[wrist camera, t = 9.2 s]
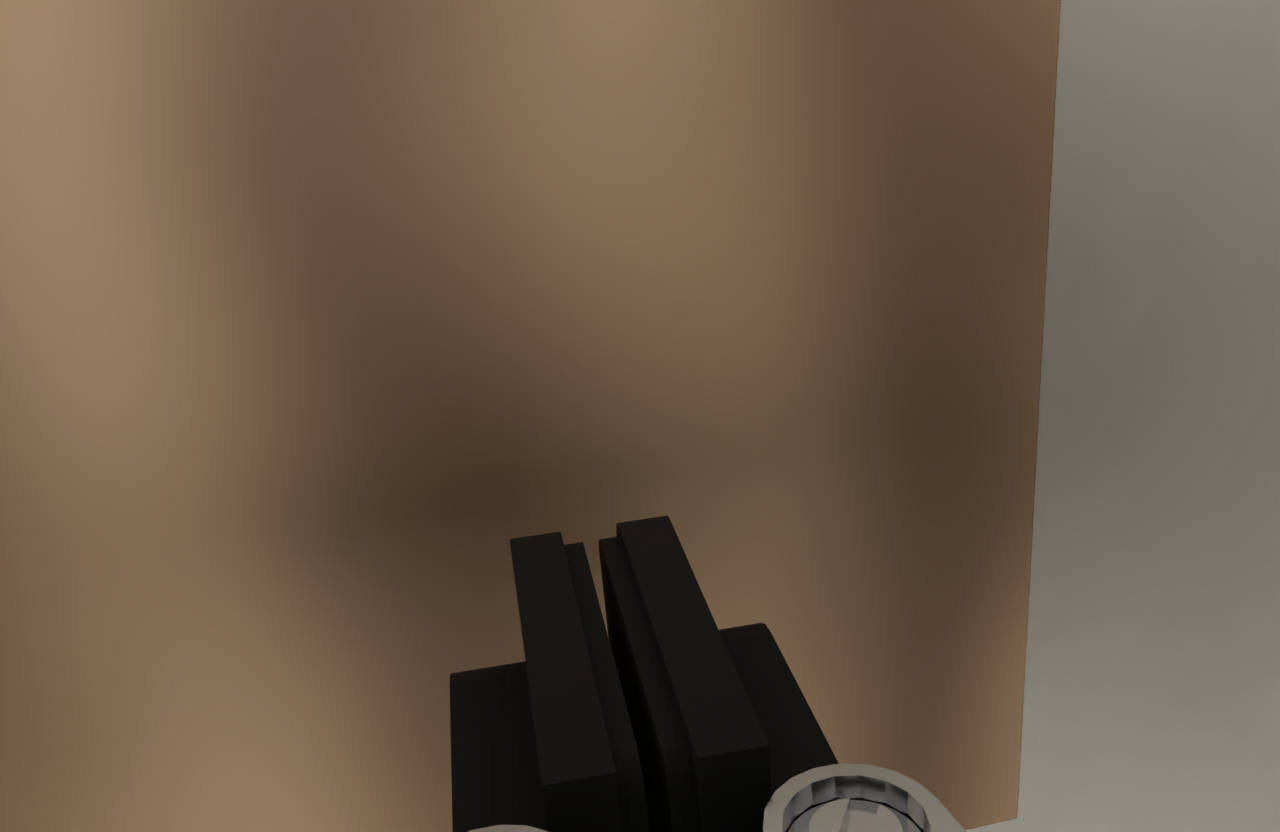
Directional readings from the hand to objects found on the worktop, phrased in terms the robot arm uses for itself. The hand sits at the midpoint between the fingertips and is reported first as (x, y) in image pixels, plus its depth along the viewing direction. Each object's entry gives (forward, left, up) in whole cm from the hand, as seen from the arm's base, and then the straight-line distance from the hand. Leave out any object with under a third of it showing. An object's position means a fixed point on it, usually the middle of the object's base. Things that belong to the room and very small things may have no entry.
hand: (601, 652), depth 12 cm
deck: (+1, 0, -7) cm, 7 cm away
